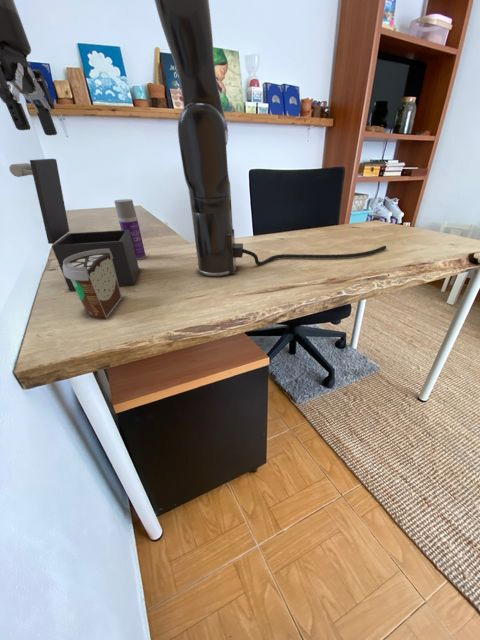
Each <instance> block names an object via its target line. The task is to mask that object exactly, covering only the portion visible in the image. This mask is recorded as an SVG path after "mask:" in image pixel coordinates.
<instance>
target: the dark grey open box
mask: <svg viewBox="0 0 480 640" xmlns="http://www.w3.org/2000/svg"><path fill="white" fill-rule="evenodd" d="M51 248H52V251H53V253H54V255H55V259H56V260H57V263H58V266H59V268H60V271H61V273H62V276H63V277H64V280H65V283H66V285H67V288H68V291H69V292H76V289H75V287H74V285H73V283H72V281H71V279H68V278H66V277H65V276H64V273H63V261H64V259H66V258H67V257H69V256H72V255H74V254H77V253H81V252H85V251H90V250H97V249H110V252H111V254H112V256H113V259H112V261H113V264H114V268H115V272H116V276H117V280H118V284H119V287H130V286H135V283H136V280H137V277H138V273H139V270H140V267H139V263H138V260H137V259H136V255H135V251H134V247H133V243H132V239H131V235H130V231H129V230H121V229H119V230H117V229H116V230H104V231H103V230H101V231H99V230H98V231H84V232H83V231H82V232H68V233H67V234H65V235H64V236H63V237H61V238H60V239H59V240H57V241H56V242H55V243H53V244H52V245H51Z"/></svg>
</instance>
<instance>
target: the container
mask: <svg viewBox="0 0 480 640" xmlns="http://www.w3.org/2000/svg"><path fill="white" fill-rule="evenodd" d="M133 201H134V200H133V199H131V198H129V199H128V198H124V199H116V200H114V201H113V202H114V206H115V210H116V215H117V218H118V223H119V226H120V230H129V231H130V235H131V239H132V243H133V247H134V251H135V255H136V259H137V261H140V260H145V259H146V258H147V255H146V251H145V246H144V243H143V239H142V234H141V230H140V229H141V228H140V225H139V221H138V216H137V213H136V209H135V204H134V202H133Z"/></svg>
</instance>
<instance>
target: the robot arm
mask: <svg viewBox="0 0 480 640" xmlns="http://www.w3.org/2000/svg"><path fill="white" fill-rule="evenodd" d="M153 2H154V4H155V8H156V12H157V15H158V19H159V21H160V24H161V29H162V31H163V34H164V37H165V40H166V43H167V46H168V49H169V51H170V54H171V57H172V60H173V62H174V66H175V70H176V73H177V75H178V80H179V85H180V91H181V97H182V104H183V109H182V110H181V111H180V114H179V117H178V121H177V137H178V144H179V152H180V158H181V164H182V171H183V176H184V180H185V183H186V186H187V189H188V197H189V203H190V211H191V220H192V227H193V228H192V229H193V233H194V241H195V242H194V243H195V249H196V257H197V265H198V273H199V274H200V275H202V276H206V277H223V276H224V277H225V276H228V275H235V272H236V270H237V258H238V259H239V258H240V259H242V258H243V255H244V254H246V255H248V256H251V257H252V258H253V260H254V263H255V264H256V265H257V266H263V265H265V264H267V263H270V262H272V261H274V260H278V259H346V258H356V257H363V256H368V255H373V254H376V253H379V252H382V251H384V250H386V249H387V245H382V246H380V247H378V248H375V249H371V250H366V251H362V252H356V253H343V254H296V253H295V254H291V253H290V254H286V253H285V254H284V253H283V254H275V255H272V256H270V257H267V258H266V259H265V260H263V261H260V260H259V257H258V255H257V254H256V253H255V252H253V251H251V250H248V249H245V248H244V243H237V242H236V239H235V237H236V236H235V229H234V228H233V227H234V226H233V210H232V209H233V208H232V195H231V182H230V176H229V169H228V152H227V145H228V141H229V129H228V124H227V121H226V117H225V113H224V108H223V104H222V99H221V95H220V90H219V86H218V80H217V74H216V67H215V65H216V64H215V55H214V41H213V29H212V19H211V9H210V8H211V7H210V1H209V0H154V1H153ZM15 3H16V2H15V0H0V101H2V103H4V104H5V105H6V107H7V111H8V112H9V115H10V117H11V120H12V122H13V124H14V126H15V129H16V130H18V131H29V130H31V124H30V122H29V120H28V117H27V115H26V113H25V110H24V107H23V105H22V102H20V100H21V99H20V96H21V95H20V94H22V96H23V97H24V99H25V100H27V101H29V102H30V104H31V106H33V108H34V109H35V111H36V114H37V118H38V120H39V122H40V125H41V127H42V130H43V133H44V135H45V136H49V137H51V136H56V135H57V134H58V132H57V128H56V126H55V123H54V121H53V118H52V114H51V112H52V110H55V108H56V106H55V103H54V101H53V98H52V96H51V93H50V90H49V88H48V85H47V82H46V80H45V78H44V75H43V73H42V71H41V70H40V69H32V68H31V65H30V64H29V62H28V59H27V57H28V56H29V55H30V54H31V52H32V48H31V45H30V42H29V40H28V36H27V33H26V30H25V28H24V25H23V23H22V20H21V17H20V15H19V11H18V8H17V6H16V4H15ZM44 96H45V97H44Z"/></svg>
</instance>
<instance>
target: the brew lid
mask: <svg viewBox="0 0 480 640" xmlns="http://www.w3.org/2000/svg"><path fill="white" fill-rule="evenodd" d="M29 162H30V163H28V162H24V163H15V164H13V163H12V164H10V165H9V168H8V169H9V172H10V173H11V175H12V176H14V177H16V178H20V177H27V176H32V177H33V181H34V185H35V186H34V187H35V190H36V194H37V200H38V203H39V209H40V213H41V216H42V223H43V225H44V230H45V231H44V232H45V235H46V240H47V243H48V244H49V245H54V244H55V243H56V242H58V241H59V240H60V239H62V238H63V237H64V236H66V235H67V234H68V233H70V227H69V221H68V217H67V211H66V205H65V200H64V194H63V189H62V184H61V178H60V173H59V167H58V162H57V159H56V158H41V159H29Z"/></svg>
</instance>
